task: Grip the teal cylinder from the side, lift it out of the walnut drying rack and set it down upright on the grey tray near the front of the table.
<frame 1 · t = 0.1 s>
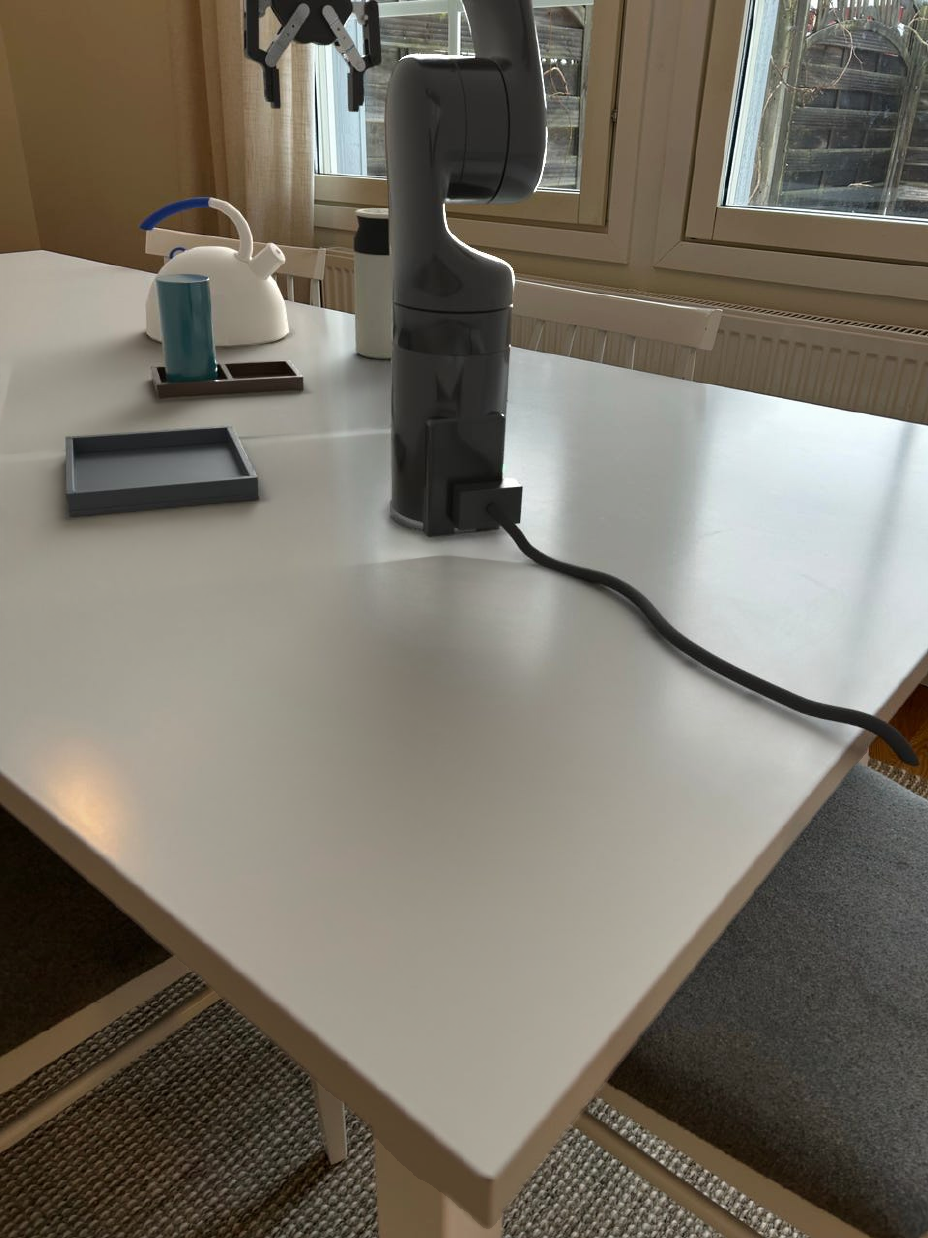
hand: (315, 109, 103), 29 cm above the table, tool pointing down, fingers open, 8 cm apart
kettle: (219, 333, 138), on the table
teal cylinder: (192, 385, 111), resting on rack
tray: (159, 477, 85), on the table
travel mug: (384, 354, 130), on the table
rack: (227, 387, 112), on the table
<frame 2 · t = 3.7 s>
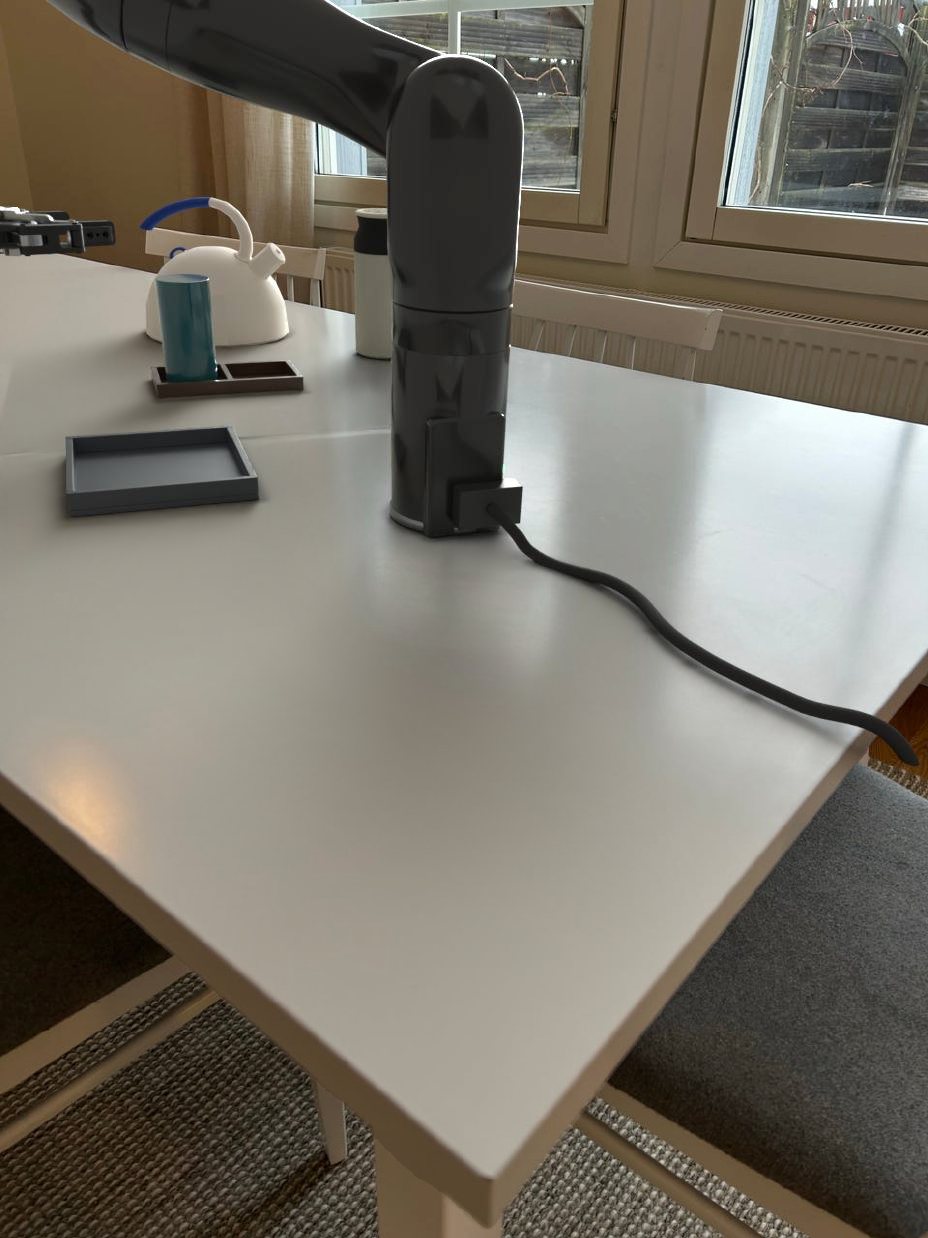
hand: (90, 227, 95), 18 cm above the table, tool horizontal, fingers open, 8 cm apart
nothing on the table moved.
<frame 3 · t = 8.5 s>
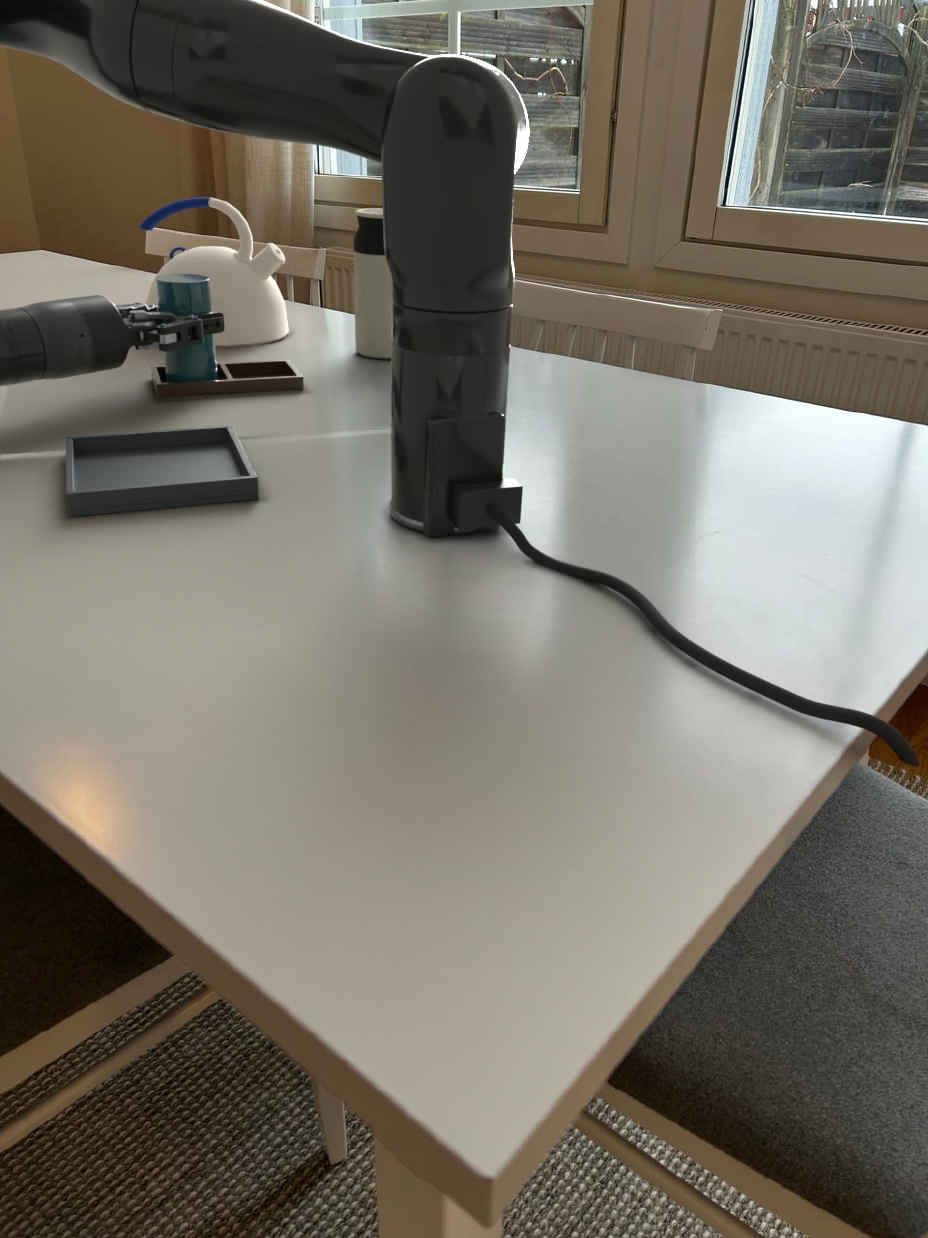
hand: (204, 316, 109), 8 cm above the table, tool horizontal, fingers closed on teal cylinder, 6 cm apart
teal cylinder: (192, 385, 111), resting on rack, touching gripper
everything else where it was.
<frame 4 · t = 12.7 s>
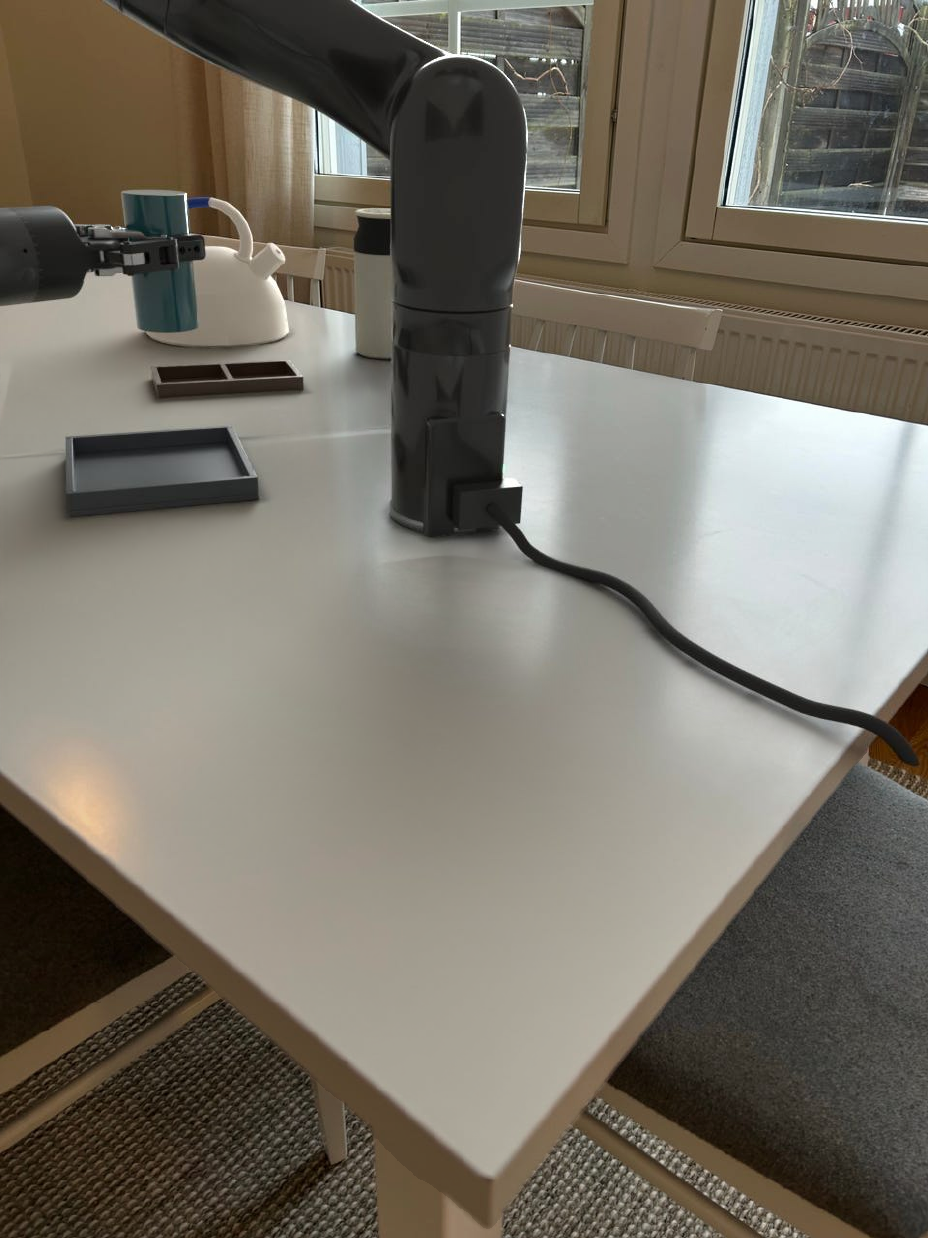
hand: (181, 242, 91), 18 cm above the table, tool horizontal, fingers closed on teal cylinder, 6 cm apart
teal cylinder: (168, 326, 93), point 10 cm above the table, touching gripper
everything else where it was.
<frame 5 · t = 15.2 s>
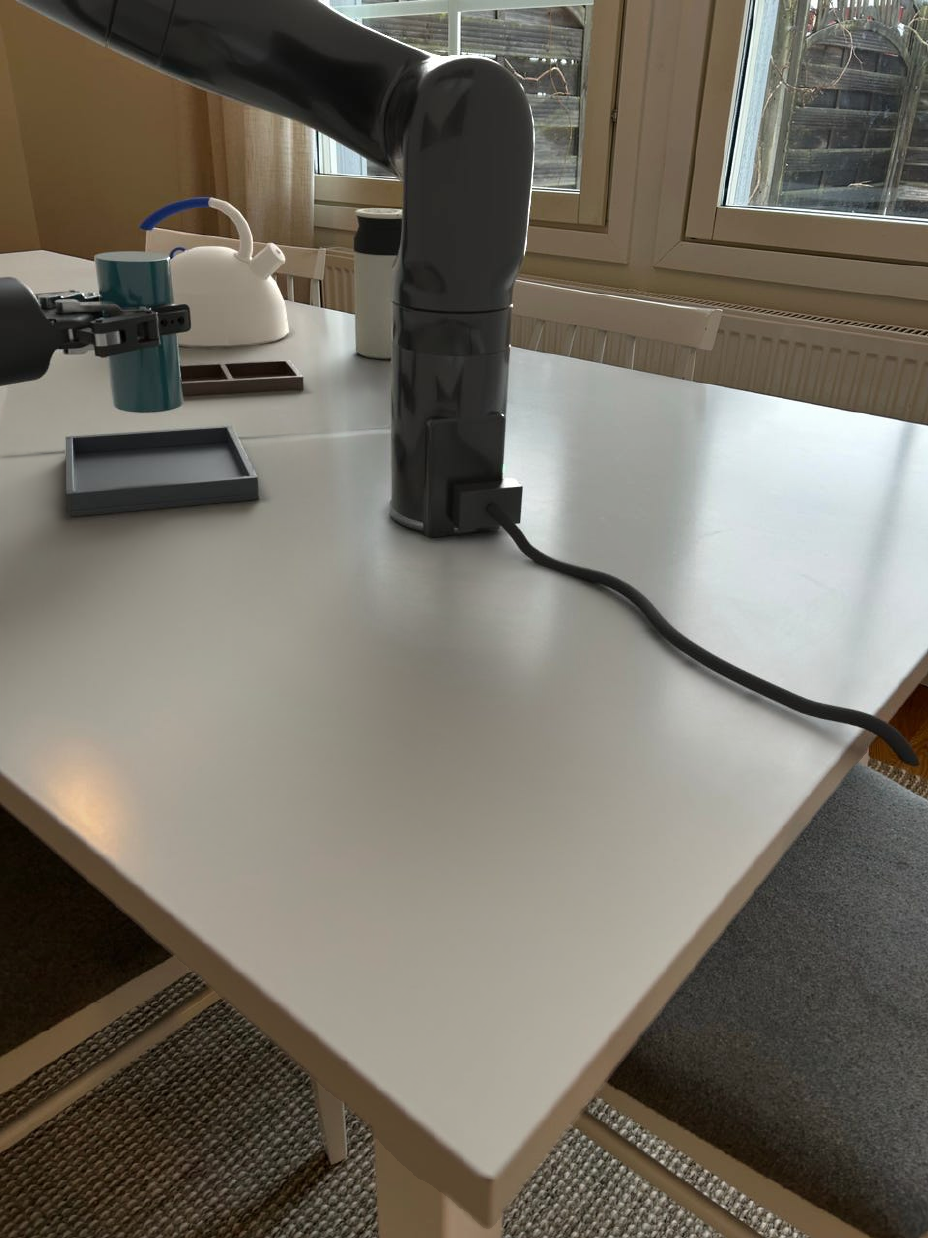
hand: (164, 310, 80), 14 cm above the table, tool horizontal, fingers closed on teal cylinder, 6 cm apart
teal cylinder: (148, 403, 82), point 7 cm above the table, touching gripper
everything else where it was.
when the fingers open (8 cm above the table, at t = 17.2 s): teal cylinder stays where it is, resting on tray.
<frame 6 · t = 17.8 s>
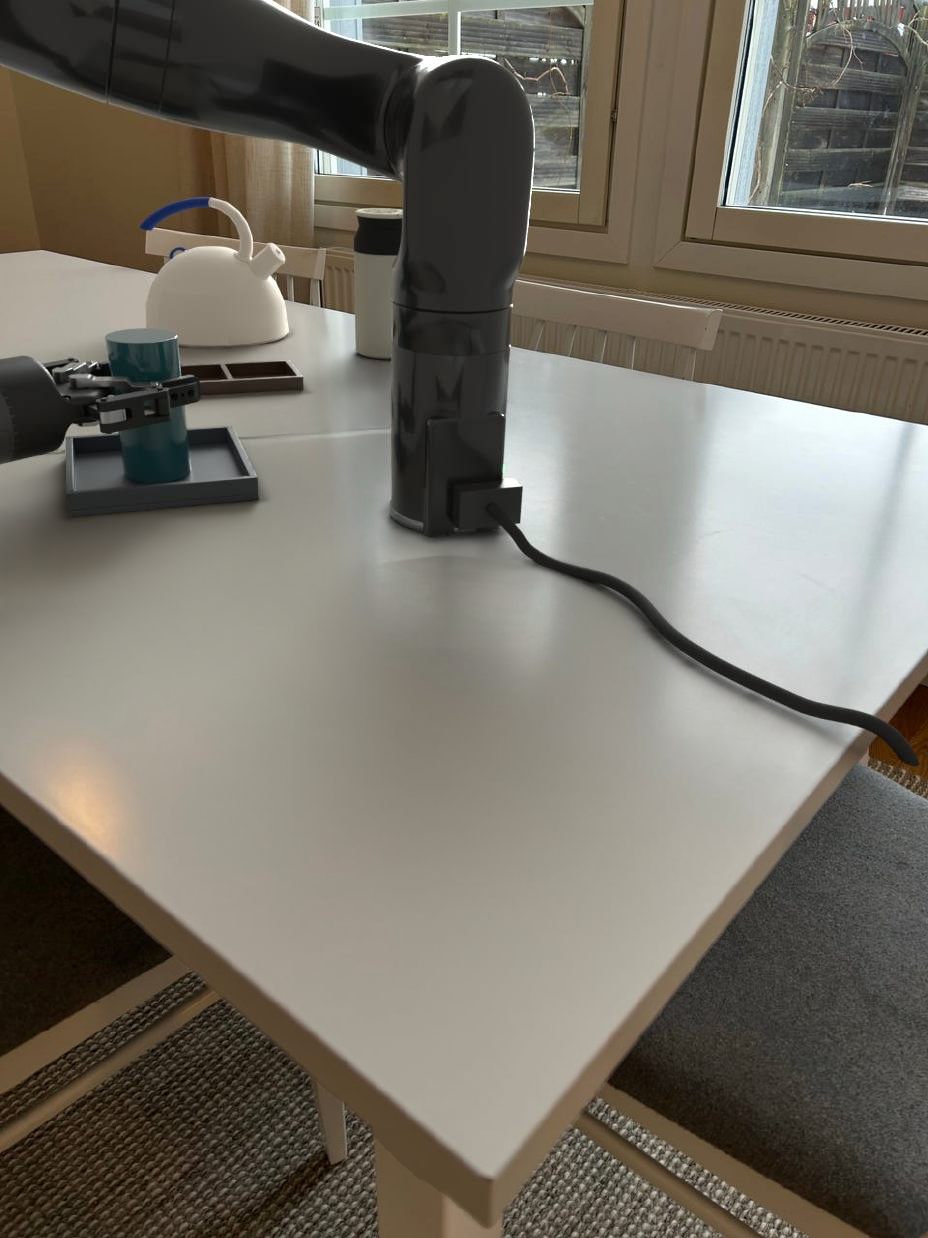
hand: (167, 377, 82), 9 cm above the table, tool horizontal, fingers open, 8 cm apart
teal cylinder: (158, 472, 85), resting on tray
everything else where it was.
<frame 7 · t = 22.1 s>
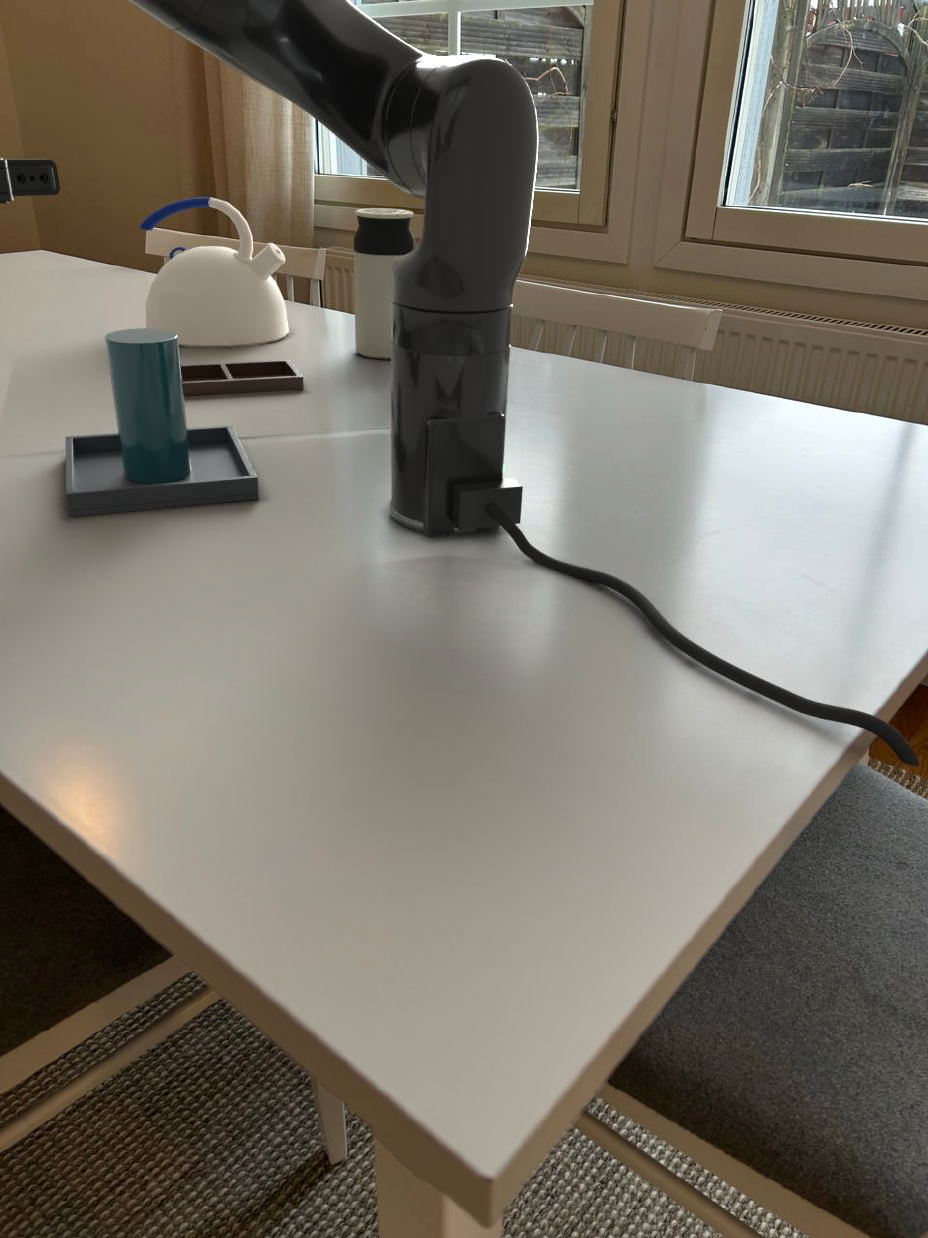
hand: (25, 173, 68), 25 cm above the table, tool horizontal, fingers open, 8 cm apart
nothing on the table moved.
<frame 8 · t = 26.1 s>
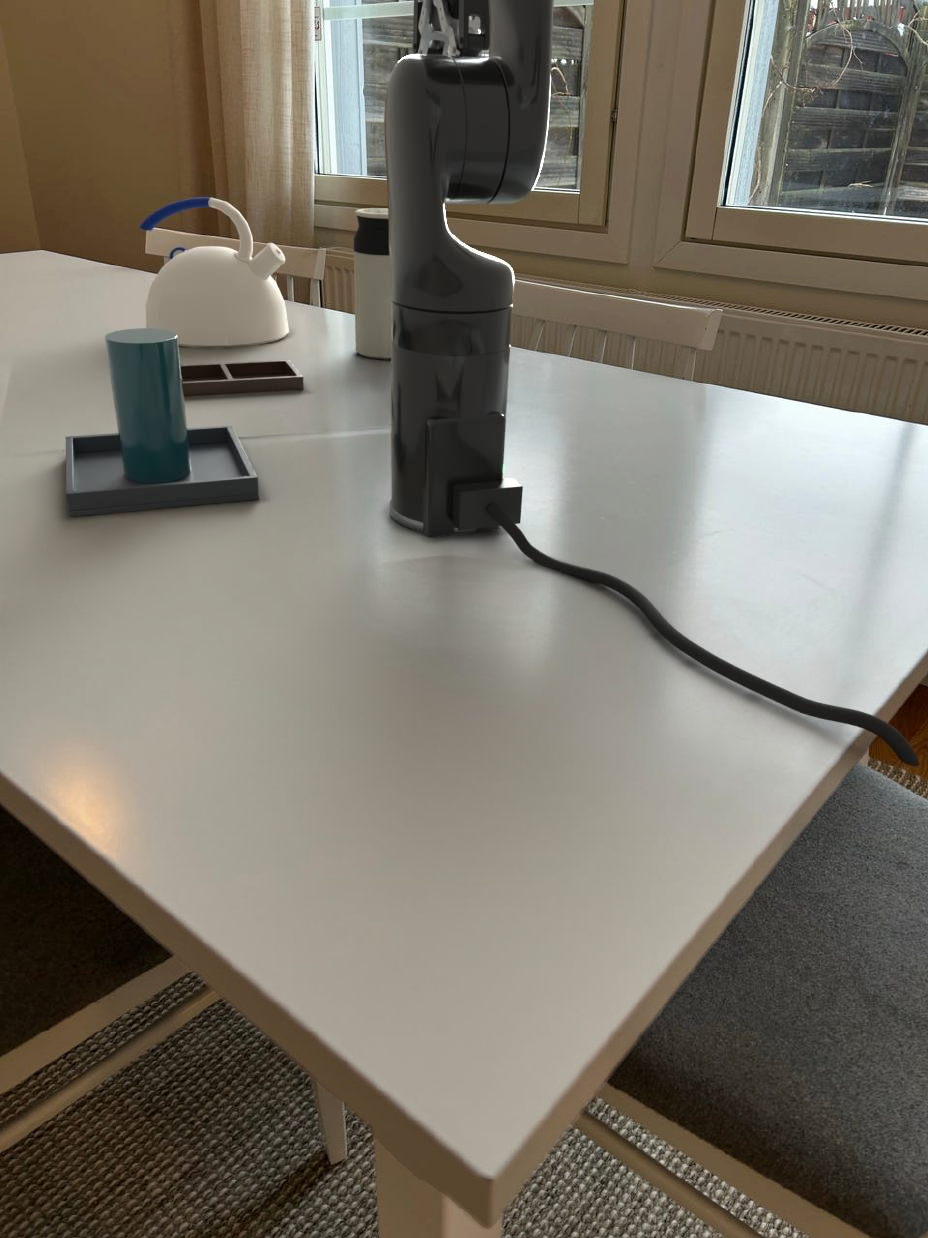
hand: (447, 107, 89), 30 cm above the table, tool pointing down, fingers open, 8 cm apart
nothing on the table moved.
at the end: teal cylinder inside the target area in the tray (0.1 cm from its centre), point 0.5 cm above the tray's base; teal cylinder tilted 0°; the gripper is holding nothing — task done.
